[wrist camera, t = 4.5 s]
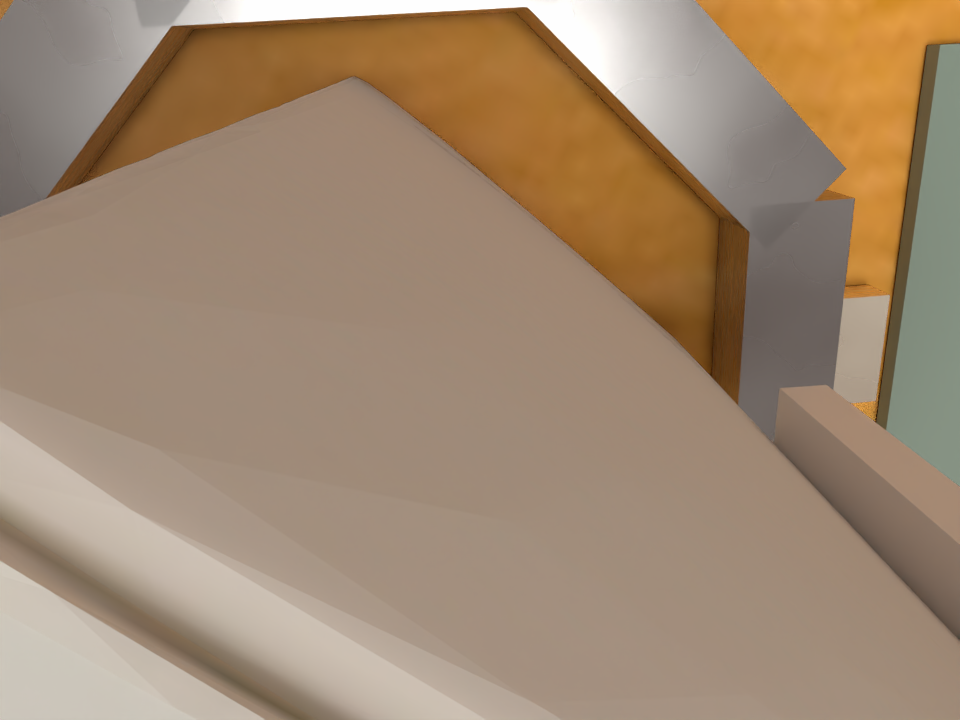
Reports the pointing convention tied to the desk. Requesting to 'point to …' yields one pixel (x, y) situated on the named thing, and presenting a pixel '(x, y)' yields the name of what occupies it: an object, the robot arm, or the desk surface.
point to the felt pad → (929, 281)
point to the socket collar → (606, 70)
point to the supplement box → (396, 464)
